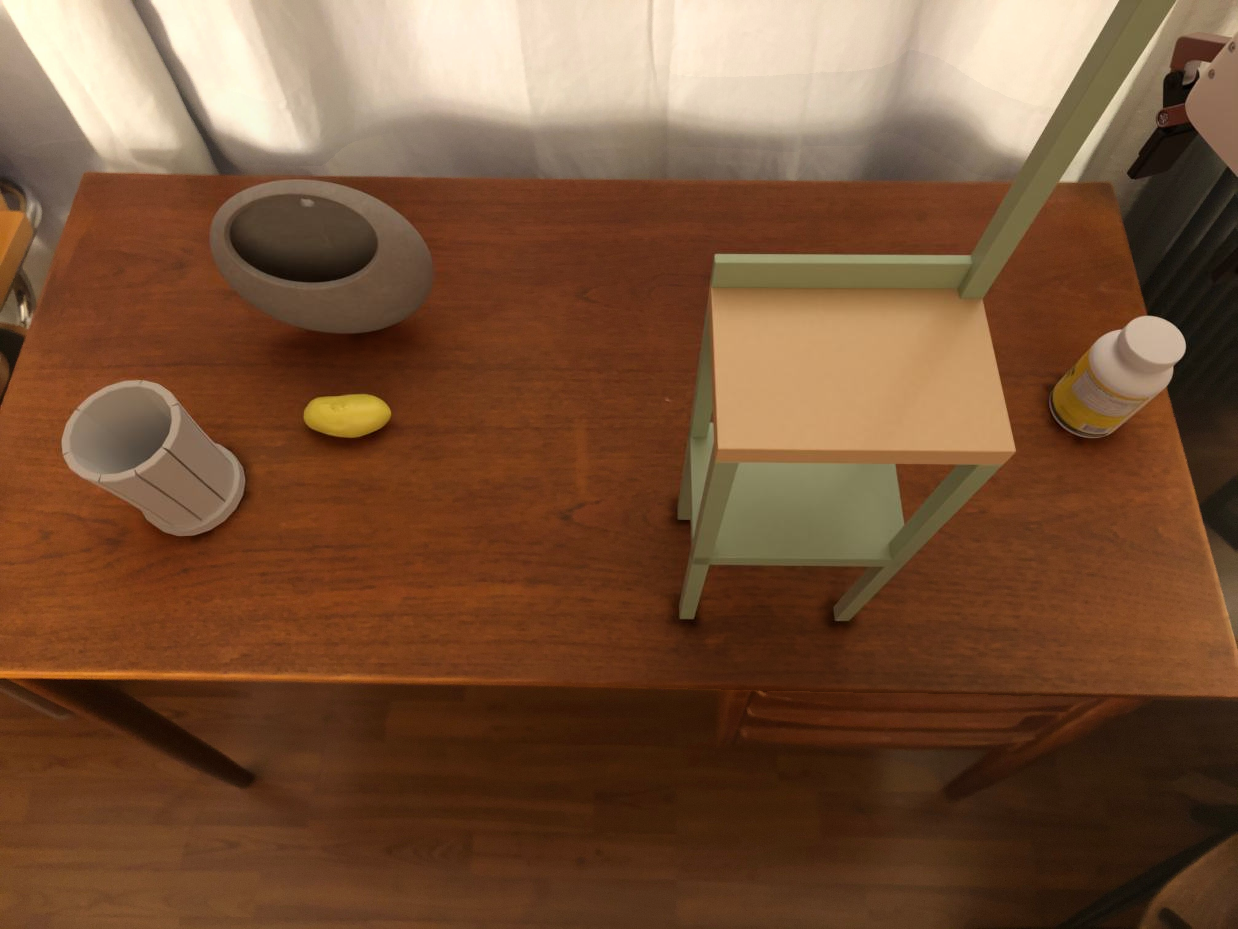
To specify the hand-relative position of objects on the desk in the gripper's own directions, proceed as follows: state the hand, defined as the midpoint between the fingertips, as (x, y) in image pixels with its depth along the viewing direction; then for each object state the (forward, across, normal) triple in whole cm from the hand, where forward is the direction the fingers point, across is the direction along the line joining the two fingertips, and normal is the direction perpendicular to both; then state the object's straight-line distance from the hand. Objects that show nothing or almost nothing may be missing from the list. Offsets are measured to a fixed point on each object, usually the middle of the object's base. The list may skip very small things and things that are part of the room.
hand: (1186, 222), depth 55 cm
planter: (+22, +27, +60) cm, 69 cm away
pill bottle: (+22, -4, -2) cm, 23 cm away
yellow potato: (+22, +16, +62) cm, 68 cm away
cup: (+22, +14, +78) cm, 82 cm away
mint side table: (+22, -8, +32) cm, 39 cm away
